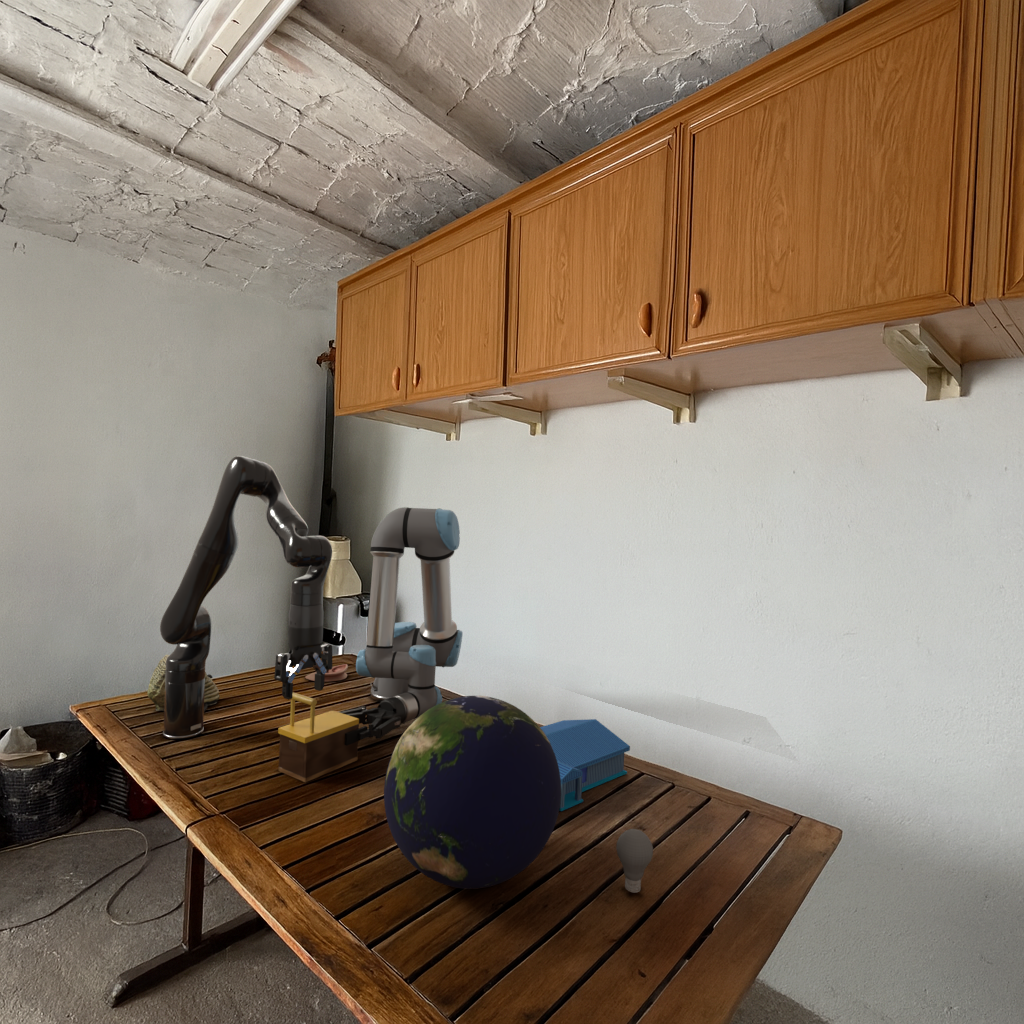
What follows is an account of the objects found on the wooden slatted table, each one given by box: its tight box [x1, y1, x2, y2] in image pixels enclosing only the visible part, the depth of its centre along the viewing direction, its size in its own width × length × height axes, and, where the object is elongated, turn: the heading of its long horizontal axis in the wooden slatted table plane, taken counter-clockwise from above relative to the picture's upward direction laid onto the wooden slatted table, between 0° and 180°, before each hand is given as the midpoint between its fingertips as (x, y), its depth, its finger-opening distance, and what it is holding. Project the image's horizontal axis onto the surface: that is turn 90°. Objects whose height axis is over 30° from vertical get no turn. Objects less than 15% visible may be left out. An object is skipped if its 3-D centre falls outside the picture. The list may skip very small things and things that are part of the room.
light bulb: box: [615, 828, 654, 894], centre depth 106 cm, size 6×6×10 cm
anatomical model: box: [304, 663, 349, 683], centre depth 219 cm, size 13×4×12 cm
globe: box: [383, 694, 561, 890], centre depth 108 cm, size 30×30×30 cm
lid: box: [277, 691, 360, 743], centre depth 149 cm, size 16×9×9 cm, turn 147°
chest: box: [278, 723, 360, 783], centre depth 149 cm, size 15×9×9 cm, turn 147°
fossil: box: [147, 654, 221, 712], centre depth 185 cm, size 9×18×15 cm, turn 132°
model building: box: [539, 718, 631, 812], centre depth 145 cm, size 39×24×10 cm, turn 132°
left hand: (303, 694), depth 144 cm, fingers open, 8 cm apart
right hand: (331, 734), depth 152 cm, fingers closed on chest, 9 cm apart
